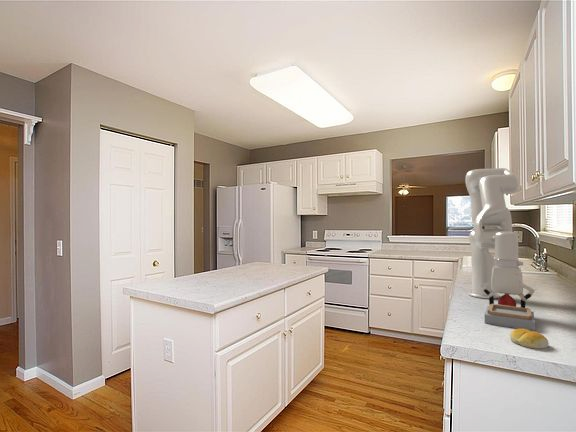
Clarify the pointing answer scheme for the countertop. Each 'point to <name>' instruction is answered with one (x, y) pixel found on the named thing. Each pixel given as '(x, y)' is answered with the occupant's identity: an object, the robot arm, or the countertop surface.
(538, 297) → the countertop surface
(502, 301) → the pomegranate
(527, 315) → the stand
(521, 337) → the bread roll
